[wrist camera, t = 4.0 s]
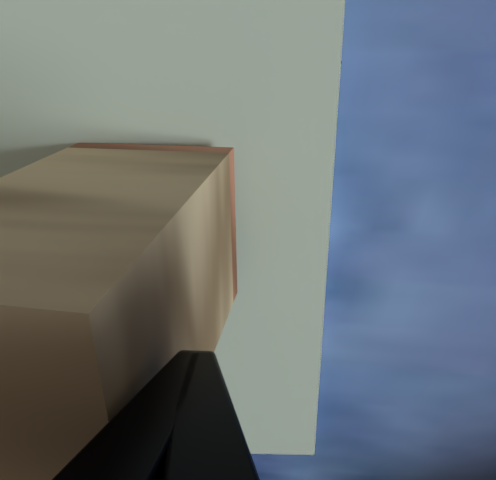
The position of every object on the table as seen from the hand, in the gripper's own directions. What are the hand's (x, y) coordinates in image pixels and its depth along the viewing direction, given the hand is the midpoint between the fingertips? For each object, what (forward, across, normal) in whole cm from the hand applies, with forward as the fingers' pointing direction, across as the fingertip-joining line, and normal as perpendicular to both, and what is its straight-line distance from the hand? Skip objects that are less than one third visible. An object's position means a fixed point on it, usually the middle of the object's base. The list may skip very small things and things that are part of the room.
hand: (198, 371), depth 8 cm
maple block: (+7, +2, 0) cm, 7 cm away
